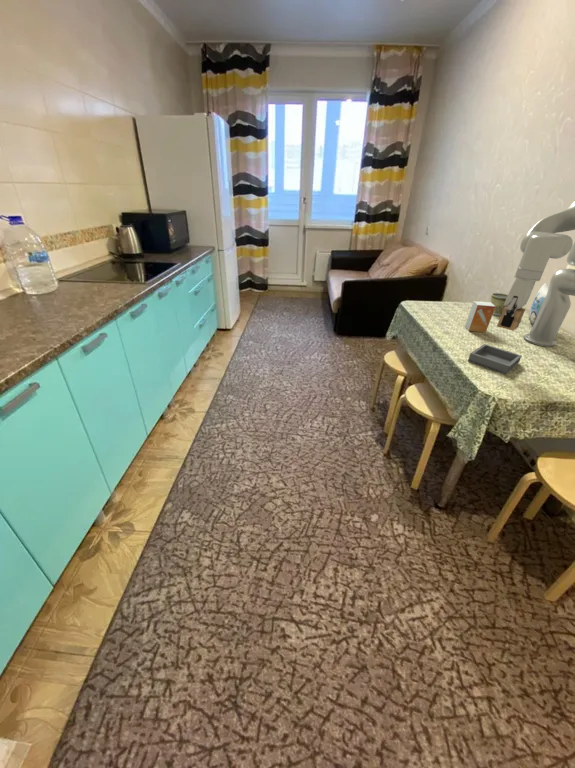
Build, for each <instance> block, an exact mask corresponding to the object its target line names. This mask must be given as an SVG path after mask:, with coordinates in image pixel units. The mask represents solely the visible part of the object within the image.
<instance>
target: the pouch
mask: <svg viewBox="0 0 575 768" xmlns="http://www.w3.org/2000/svg"><path fill="white" fill-rule="evenodd" d="M548 289H549V284H547V283H546V282H545V283H544V284H543V285H542V286H541V287H540V288H539V289H538V291H537V293H536V295H535V296H534V299H533V301H532V304H531V306H530V309H529V313H528V317H527V318H528V321H529V322H530V323H531V324H532V326H533V325H534V322H535V320H536V318H537V316H538V313H539V311H540V309H541V307H542V305H543V302H544V300H545V298H546V295H547V292H548Z"/></svg>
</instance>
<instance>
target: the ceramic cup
mask: <svg viewBox="0 0 575 768" xmlns="http://www.w3.org/2000/svg"><path fill="white" fill-rule="evenodd" d="M507 296H508V294H506V293H500V292H493V293H491V297H490V302H491V303H492V304H493V305H495V306H496V307H495V310H494V312H493V315H492V316H498V317H499V316H500V317H501V314H502V312H503V309H504V308H505V306H504V303H505V301H506V299H507ZM506 307H507V306H506Z"/></svg>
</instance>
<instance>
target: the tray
mask: <svg viewBox="0 0 575 768" xmlns="http://www.w3.org/2000/svg"><path fill="white" fill-rule="evenodd" d="M521 359H522V355H521V354H518V353H514V352H512V351H509V350H504V349H501V348H499V347H495V346H493V345H489V344H486V343H483V344H482V345H481V346H479V347H477V348H476V349H474V350H473V351H472V352H470V353H469V357H468V359H467V362H469V363H471V362H472V363H471V364H474V365H477V366H480V367H483V368H486V369H489V370H492V371H494V372H496V373H500V374H503V375H505V376H506V375H507V374H509V373H510V372H511V371H512V370H514V368H515V367H516V366H517V365H519V362H520V361H521Z"/></svg>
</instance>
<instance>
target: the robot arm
mask: <svg viewBox="0 0 575 768" xmlns="http://www.w3.org/2000/svg"><path fill="white" fill-rule="evenodd" d="M570 231H575V200H574V201H572V202H571V204H570V205H569V206H568V207H567V208H566V209H564V210H563V209H562V210H561V211H558V212H555V213H553V214H551V215H548V216H546V217H544V218H542V219H540V220H539V221H537V222H536V223H535V224H534V225H533V226H532V227H531V228H530V229H529V230H528V231H527V233H526V234H525V235H524V237H523V238H522V240H521V242H520V251H521V252H522V256H521V257H520V258H521V259H520V261H519V264H518V267H517V268H516V272H515V274H514V278H515V279H514V282H513V283H512V285H511V288H510V290H509V291H508V294H507V295H508V296H507V299H506V301H505V303H504V306H505V307H506V306H508V305H509V306H508V308H507V310H506V313H505V315H504V317H503V320H502V322H501V326H505V327H508V328H510V327H511V325H512V322H513V320H514V315H515V313H516V311H517V309H519V308H524V306H526V305H527V303H528V301H529V299H530V297H531V294H532V291H533V289H534V287H535V284H536V282H539V281H541V279H542V276H543V273H544V271H545V269H546V268H547V267H546V266H547V265H548V262H549V260H550V259H556V260H557V259H561V258H563V257H565V256H567V257H566V262H567V263H568V264H569V265H571V266H573V267H574V266H575V241H574V242H573V238H572V237H571V236H570V235H567V234H562V233H565V232H570ZM548 287H549V289H548V292H547V295H546V298H545V300H544V302H543V305H542V307H541V309H540V311H539V313H538V316H537V318H536V320H535V322H534V325H532V327H531V329H530V331H529V333H526V334H524V336H523V339H524V340H525V341H526V342H528V343H530V344H533V345H536V346H540V347H548V348H549V347H550V348H552V347H556V346H557V344H558V342H557V339H556V336H557V334H558V332H559V330H560V329H561V326H562V324H563V323H564V321H565V318H566V316H567V314H568V312H569V311H570V309H571V305H572V303H571V298H570V296H573V297H575V269H573V268H561V269H558V270H557V271H555V272H554V273H553V274H552V276H551V278H550V280H549V284H548ZM514 306H515V307H516V308H513V307H514ZM512 309H513V310H514V312H513V310H512Z"/></svg>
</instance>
